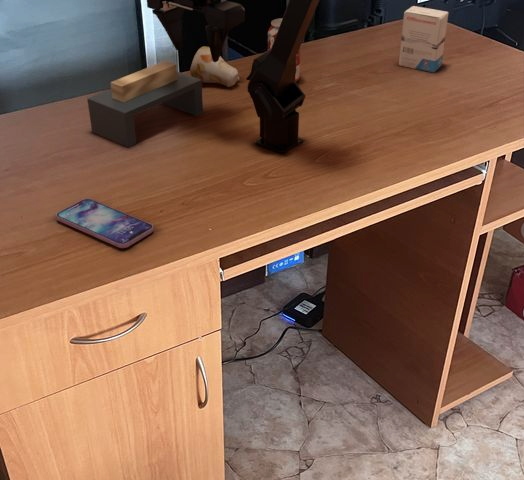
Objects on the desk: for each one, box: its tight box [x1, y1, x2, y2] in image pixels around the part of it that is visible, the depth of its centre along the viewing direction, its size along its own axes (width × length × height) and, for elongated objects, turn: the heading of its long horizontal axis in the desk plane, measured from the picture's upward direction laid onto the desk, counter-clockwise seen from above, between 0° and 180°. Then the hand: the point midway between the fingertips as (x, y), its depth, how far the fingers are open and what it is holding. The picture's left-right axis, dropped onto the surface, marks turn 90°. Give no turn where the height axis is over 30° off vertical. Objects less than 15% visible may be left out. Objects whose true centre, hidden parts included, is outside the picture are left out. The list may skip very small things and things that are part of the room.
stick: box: [110, 60, 178, 102], centre depth 146 cm, size 14×3×3 cm, turn 141°
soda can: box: [267, 17, 301, 83], centre depth 163 cm, size 7×7×12 cm
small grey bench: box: [86, 71, 204, 148], centre depth 149 cm, size 10×20×7 cm, turn 141°
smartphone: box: [55, 198, 154, 249], centre depth 122 cm, size 7×1×15 cm
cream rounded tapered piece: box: [189, 46, 240, 88], centre depth 164 cm, size 8×10×10 cm
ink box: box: [398, 5, 449, 73], centre depth 170 cm, size 9×5×12 cm, turn 58°
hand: (197, 55), depth 143 cm, fingers open, 9 cm apart
